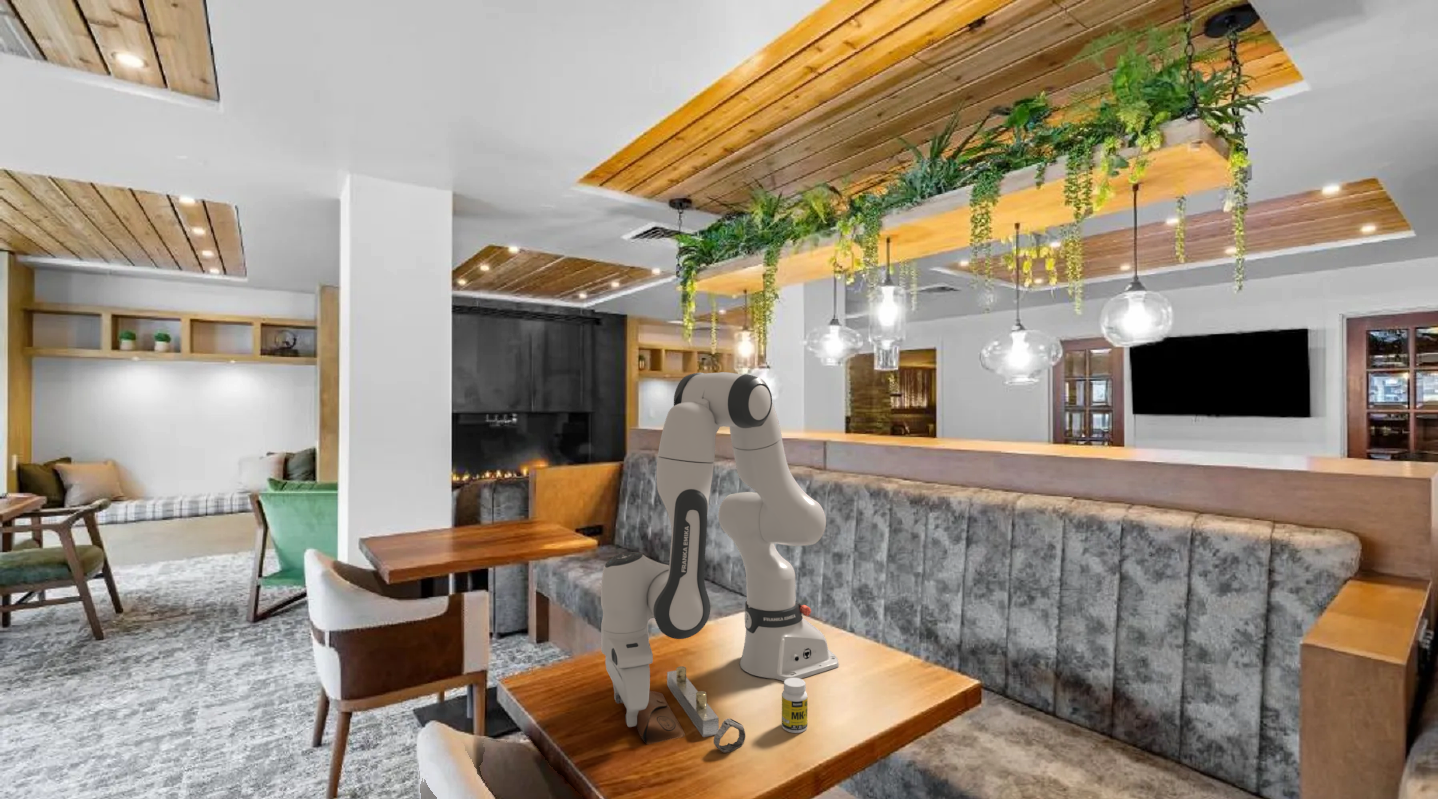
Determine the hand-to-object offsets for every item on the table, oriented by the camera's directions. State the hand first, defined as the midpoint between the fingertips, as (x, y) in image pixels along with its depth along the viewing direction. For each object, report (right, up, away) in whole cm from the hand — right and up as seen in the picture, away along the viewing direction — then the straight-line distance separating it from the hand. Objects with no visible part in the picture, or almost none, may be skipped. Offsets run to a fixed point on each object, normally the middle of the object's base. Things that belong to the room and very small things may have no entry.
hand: (625, 712), depth 122 cm
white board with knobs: (+12, -1, +5) cm, 13 cm away
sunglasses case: (+5, -2, +1) cm, 6 cm away
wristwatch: (+19, -2, -10) cm, 22 cm away
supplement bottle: (+32, -2, -3) cm, 32 cm away
